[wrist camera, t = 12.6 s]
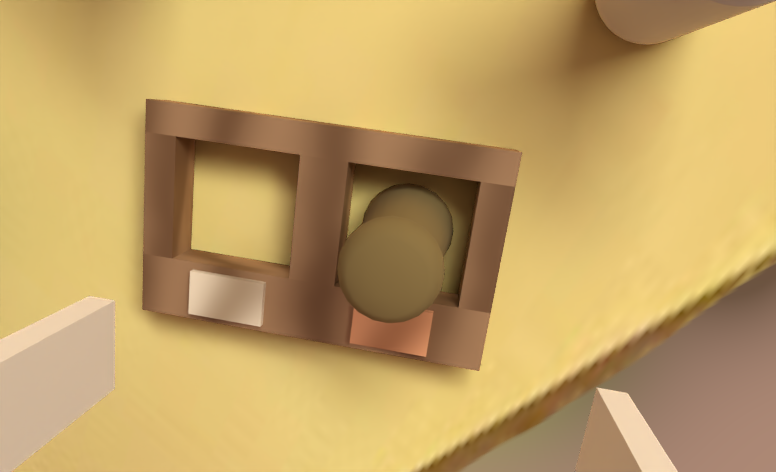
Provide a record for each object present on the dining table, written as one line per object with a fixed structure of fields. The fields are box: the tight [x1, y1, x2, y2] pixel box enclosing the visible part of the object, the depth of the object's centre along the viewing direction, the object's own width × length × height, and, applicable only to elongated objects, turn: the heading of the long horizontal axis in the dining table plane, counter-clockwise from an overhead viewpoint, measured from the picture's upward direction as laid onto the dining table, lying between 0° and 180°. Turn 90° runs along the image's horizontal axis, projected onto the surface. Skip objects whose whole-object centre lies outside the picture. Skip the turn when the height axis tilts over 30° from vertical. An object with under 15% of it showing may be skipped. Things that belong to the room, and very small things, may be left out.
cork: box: [337, 184, 453, 323], centre depth 28 cm, size 6×6×11 cm
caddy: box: [142, 99, 522, 371], centre depth 33 cm, size 23×14×3 cm, turn 82°
